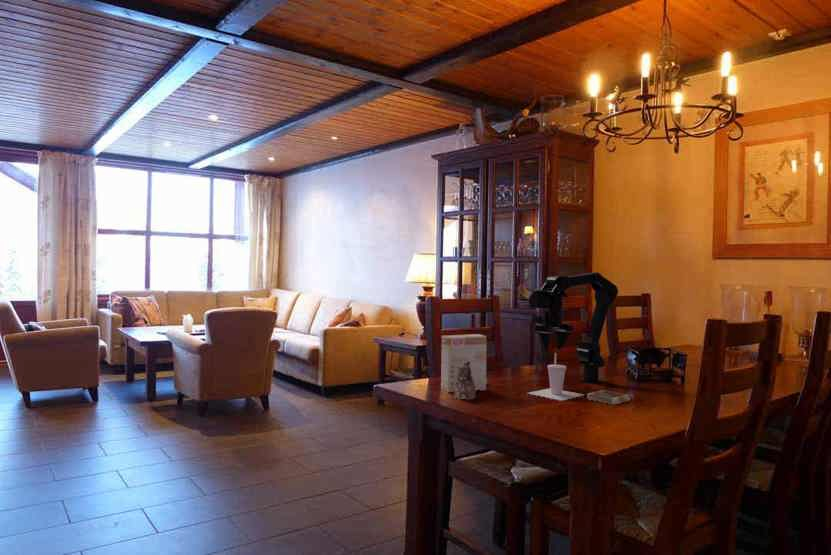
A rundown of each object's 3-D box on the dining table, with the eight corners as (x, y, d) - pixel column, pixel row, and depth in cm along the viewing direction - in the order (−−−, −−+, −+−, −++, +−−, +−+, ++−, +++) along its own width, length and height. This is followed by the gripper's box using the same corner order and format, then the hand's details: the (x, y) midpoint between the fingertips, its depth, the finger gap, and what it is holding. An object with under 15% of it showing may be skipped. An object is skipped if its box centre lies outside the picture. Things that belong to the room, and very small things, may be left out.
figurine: (449, 397, 199) (450, 361, 198) (462, 394, 204) (463, 359, 204) (466, 400, 194) (467, 364, 194) (479, 397, 199) (480, 362, 199)
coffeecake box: (477, 386, 217) (478, 333, 217) (486, 390, 211) (487, 336, 210) (440, 389, 212) (441, 334, 212) (448, 393, 206) (448, 337, 205)
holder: (602, 395, 205) (602, 389, 205) (629, 400, 198) (630, 394, 198) (587, 399, 198) (587, 393, 198) (614, 405, 191) (614, 398, 191)
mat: (550, 389, 215) (550, 388, 215) (584, 395, 205) (584, 394, 205) (527, 394, 206) (527, 393, 206) (561, 401, 195) (561, 400, 195)
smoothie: (549, 391, 209) (549, 351, 209) (567, 393, 207) (568, 353, 206) (545, 394, 203) (545, 353, 203) (563, 396, 201) (564, 355, 201)
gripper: (549, 307, 236) (547, 346, 236) (522, 307, 222) (520, 348, 222) (574, 309, 228) (572, 349, 228) (548, 309, 215) (546, 352, 215)
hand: (552, 350), depth 223 cm, fingers open, 9 cm apart
